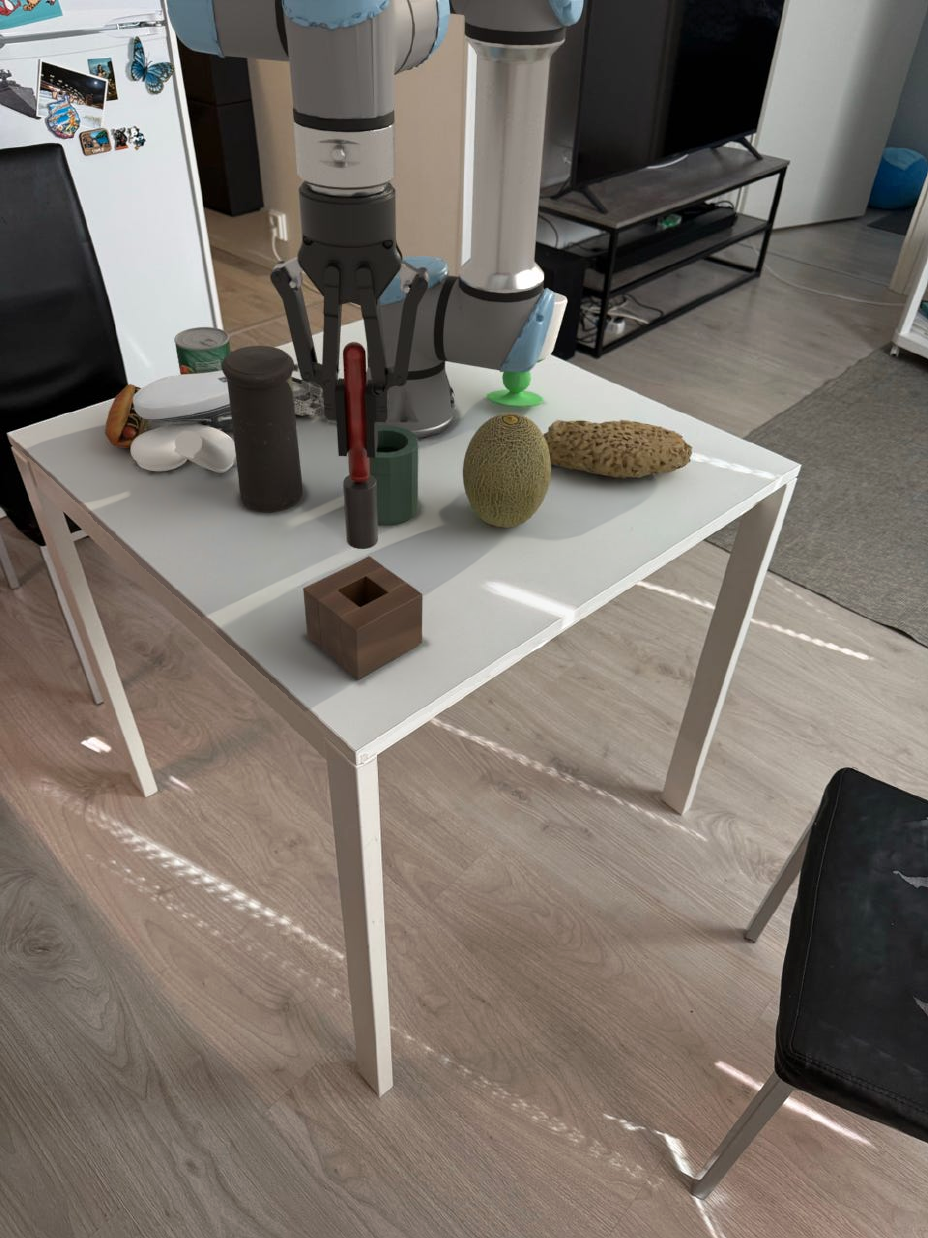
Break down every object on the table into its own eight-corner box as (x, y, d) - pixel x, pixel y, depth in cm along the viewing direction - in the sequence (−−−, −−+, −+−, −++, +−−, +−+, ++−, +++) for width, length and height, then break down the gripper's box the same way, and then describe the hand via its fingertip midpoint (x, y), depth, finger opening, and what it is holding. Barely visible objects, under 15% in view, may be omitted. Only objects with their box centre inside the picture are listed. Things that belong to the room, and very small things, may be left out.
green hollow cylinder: (343, 505, 121) (339, 438, 114) (390, 484, 125) (389, 419, 119) (382, 532, 116) (381, 464, 110) (430, 509, 121) (431, 443, 114)
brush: (340, 539, 92) (327, 341, 78) (364, 527, 94) (356, 332, 80) (359, 553, 90) (350, 353, 77) (384, 541, 92) (379, 343, 79)
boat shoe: (120, 384, 124) (126, 438, 129) (155, 410, 120) (159, 464, 125) (267, 351, 139) (267, 400, 144) (302, 373, 135) (300, 423, 140)
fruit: (447, 505, 122) (450, 403, 112) (521, 489, 126) (530, 389, 116) (483, 551, 114) (490, 446, 104) (560, 533, 118) (574, 430, 108)
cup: (562, 392, 150) (572, 292, 142) (551, 415, 138) (562, 307, 130) (481, 384, 152) (487, 285, 144) (464, 405, 140) (469, 298, 132)
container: (316, 486, 124) (306, 346, 111) (285, 520, 118) (270, 376, 105) (260, 473, 126) (243, 334, 113) (226, 506, 119) (204, 362, 107)
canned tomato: (175, 404, 140) (163, 336, 133) (217, 389, 145) (207, 322, 138) (206, 422, 136) (195, 352, 129) (248, 405, 141) (240, 337, 134)
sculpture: (176, 430, 134) (166, 380, 129) (258, 457, 129) (252, 406, 124) (117, 466, 126) (104, 414, 120) (202, 496, 121) (193, 443, 116)
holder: (307, 637, 100) (302, 588, 96) (370, 604, 105) (369, 555, 101) (358, 680, 95) (355, 630, 91) (422, 643, 100) (422, 593, 96)
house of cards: (334, 347, 138) (369, 373, 136) (326, 395, 145) (360, 420, 142) (290, 364, 133) (326, 391, 130) (284, 413, 139) (319, 439, 137)
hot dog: (132, 417, 138) (157, 400, 137) (121, 463, 129) (149, 445, 127) (108, 393, 135) (134, 375, 134) (95, 437, 125) (123, 418, 124)
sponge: (536, 480, 130) (673, 491, 121) (534, 426, 127) (675, 434, 118) (569, 456, 140) (697, 465, 132) (568, 406, 137) (700, 411, 128)
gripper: (239, 191, 67) (271, 466, 82) (441, 201, 67) (436, 474, 83) (259, 164, 73) (285, 426, 88) (445, 173, 73) (439, 433, 88)
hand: (358, 449), depth 85 cm, fingers closed on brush, 2 cm apart
